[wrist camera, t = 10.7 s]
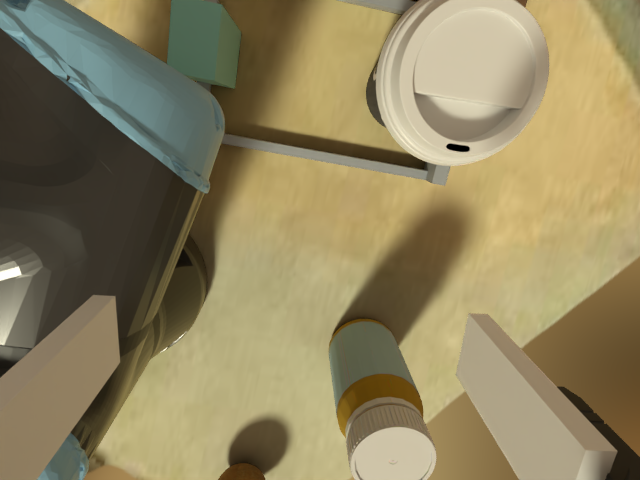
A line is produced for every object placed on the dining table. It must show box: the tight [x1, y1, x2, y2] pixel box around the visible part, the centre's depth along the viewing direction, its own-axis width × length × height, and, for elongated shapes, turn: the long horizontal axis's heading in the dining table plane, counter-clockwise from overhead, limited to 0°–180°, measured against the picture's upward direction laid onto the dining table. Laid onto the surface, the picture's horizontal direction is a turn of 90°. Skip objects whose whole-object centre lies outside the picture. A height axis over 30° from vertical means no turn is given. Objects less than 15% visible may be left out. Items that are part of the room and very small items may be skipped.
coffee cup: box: [366, 0, 549, 166], centre depth 28 cm, size 10×10×15 cm
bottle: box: [329, 319, 436, 480], centre depth 36 cm, size 7×7×15 cm
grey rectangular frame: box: [167, 0, 450, 186], centre depth 30 cm, size 22×14×9 cm, turn 80°
